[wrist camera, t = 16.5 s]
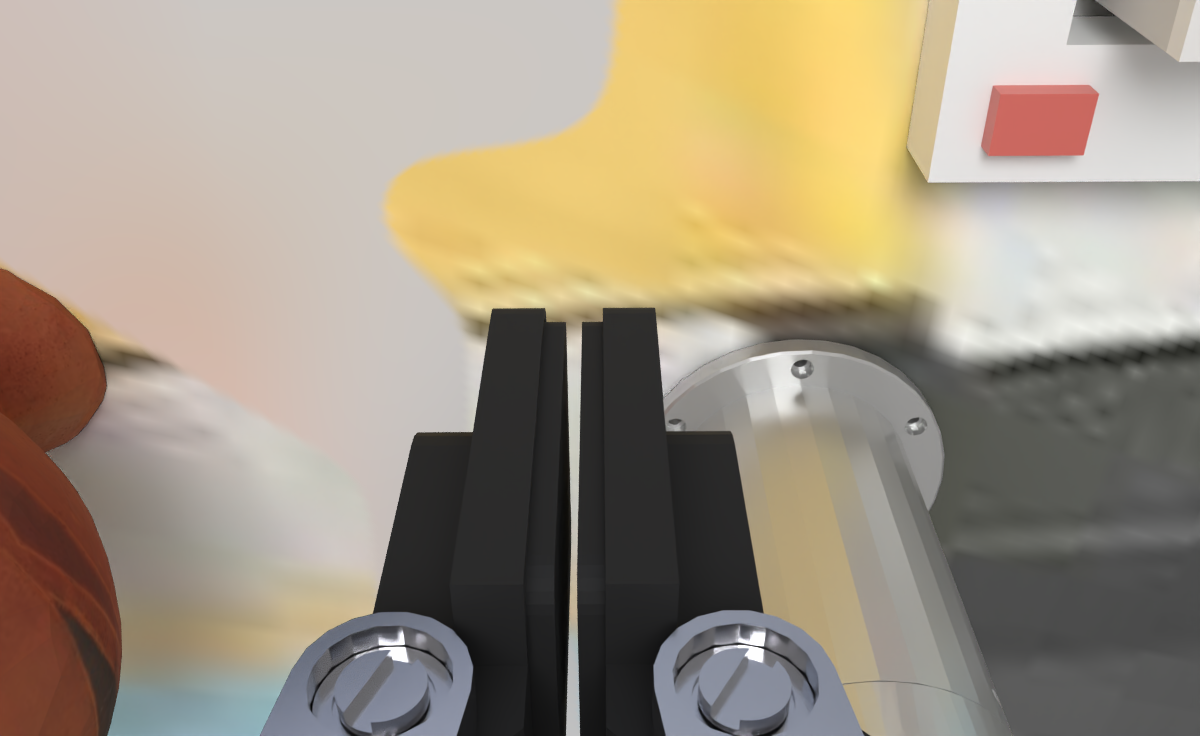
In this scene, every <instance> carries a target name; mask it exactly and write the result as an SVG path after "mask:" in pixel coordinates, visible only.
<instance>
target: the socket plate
mask: <svg viewBox="0 0 1200 736" xmlns="http://www.w3.org/2000/svg"><path fill="white" fill-rule="evenodd" d="M1076 1H1077V0H930V1H929V7H928V14H927V20H926V26H925V33H924V39H923V45H922V52H921V58H920V64H919V71H918V77H917V84H916V90H915V96H914V103H913V109H912V115H911V122H910V128H909V134H908V141H907V149H908V150H909V152H910V154H911V155H912V157H913V159H914V160H915V162H916V164H917V165H918V167H919V169H920V170H921V172H922V174H923V175H924V177H925V179H926V180H927V182H928V183H932V182H1130V181H1200V62H1178V61H1177V60H1176V59H1174V58H1173V57H1171V56H1170V55H1169V54H1167V53H1166V52H1165V51H1163V50H1162V49H1161V48H1159V47H1158V46H1156V45H1155V44H1154V43H1152V42H1151V41H1150V40H1148V39H1147V38H1146V37H1144V36H1143V35H1142V34H1140V33H1139V32H1137V31H1136V30H1135V29H1133V28H1132V27H1131V26H1129V25H1128V24H1127V23H1125V22H1124V21H1122V20H1121V19H1120V18H1118V17H1117V16H1073V14H1074V10H1075V5H1076Z"/></svg>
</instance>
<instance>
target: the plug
mask: <svg viewBox="0 0 1200 736" xmlns="http://www.w3.org/2000/svg"><path fill="white" fill-rule="evenodd" d="M1095 1H1097V2H1098V3H1099V4H1101V5H1102V6H1103V7H1105V8H1106V9H1107V10H1109V11H1110V12H1112V13H1113V14H1114V15H1116V16H1117V17H1118V18H1120V19H1121V20H1122V21H1124V22H1125V23H1127V24H1128V25H1129V26H1131V27H1132V28H1133V29H1135V30H1136V31H1137V32H1139V33H1140V34H1142V35H1143V36H1144V37H1146V38H1147V39H1148V40H1150V41H1151V42H1152V43H1154V44H1155V45H1156V46H1158V47H1159V48H1161V49H1162V50H1163V51H1165V52H1166V53H1167V54H1169V55H1170V56H1171V57H1173V58H1174V59H1176V60H1177V61H1178V62H1200V0H1095Z"/></svg>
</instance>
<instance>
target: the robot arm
mask: <svg viewBox="0 0 1200 736" xmlns="http://www.w3.org/2000/svg"><path fill="white" fill-rule="evenodd" d="M799 360H800V361H799ZM944 457H945V455H944V449H943V443H942V436H941V432H940V429H939V427H938V424H937V422H936V419H935V417H934V414H933V412H932V410H931V408H930V406H929V405H928V403H927V401H926V400H925V398H924V396H923V395H922V393H921V391H920V390H919V389H918V388H917V387H916V386H915V384H914V383H913V382H912V381H911V380H910V379H909V378H908V377H907V376H906V375H905V374H904V373H903V372H902V371H900V370H899V369H897V368H896V367H894V366H893V365H891V364H890V363H888V362H886V361H885V360H883V359H882V358H880V357H878V356H876V355H873V354H871V353H868V352H866V351H863V350H861V349H858V348H856V347H854V346H849V345H844V344H839V343H834V342H830V341H825V340H800V339H791V340H783V341H775V342H767V343H761V344H757V345H754V346H750V347H747V348H744V349H740V350H737V351H733V352H731V353H729V354H726V355H724V356H722V357H720V358H718V359H716V360H714V361H712V362H710V363H707V364H705V365H704V366H702V367H701V368H699V369H698V370H697V371H695V372H694V373H692V374H691V375H689V376H688V377H687V378H685V379H684V380H682V381H681V382H680V383H679V384H678V385H677V386H676V387H675V388H674V389H673V390H672V391H671V392H670V393H669V394H668V395H667V396H666V397H665V398H664V399H663V392H662V380H661V369H660V357H659V346H658V334H657V323H656V312H655V308H603V322H582V361H581V410H580V459H579V509H578V559H577V608H578V656H579V702H580V736H1013V735H1012V732H1011V729H1010V727H1009V724H1008V721H1007V719H1006V716H1005V714H1004V711H1003V708H1002V705H1001V703H1000V700H999V698H998V695H997V692H996V690H995V687H994V685H993V682H992V679H991V677H990V674H989V671H988V669H987V666H986V663H985V661H984V658H983V655H982V653H981V650H980V647H979V645H978V642H977V640H976V637H975V634H974V632H973V629H972V626H971V624H970V621H969V618H968V616H967V613H966V610H965V608H964V605H963V603H962V600H961V597H960V595H959V592H958V589H957V587H956V584H955V581H954V579H953V576H952V573H951V571H950V568H949V566H948V563H947V560H946V558H945V555H944V552H943V550H942V547H941V544H940V542H939V539H938V536H937V534H936V531H935V528H934V526H933V523H932V521H931V518H930V515H929V513H928V512H929V510H930V509H931V507H932V505H933V504H934V502H935V500H936V497H937V494H938V491H939V488H940V485H941V482H942V479H943V468H944ZM570 567H571V503H570V462H569V421H568V381H567V340H566V322H546V311H545V308H517V309H492V313H491V319H490V325H489V332H488V338H487V345H486V351H485V358H484V364H483V371H482V377H481V384H480V390H479V397H478V403H477V410H476V416H475V422H474V429H473V432H442V433H439V432H438V433H436V432H433V433H417V434H416V435H415V436H414V439H413V442H412V445H411V450H410V453H409V458H408V462H407V467H406V471H405V475H404V480H403V484H402V489H401V493H400V497H399V502H398V506H397V510H396V515H395V520H394V524H393V528H392V532H391V537H390V541H389V546H388V550H387V554H386V559H385V563H384V567H383V572H382V576H381V581H380V585H379V589H378V594H377V598H376V602H375V607H374V611H373V614H371V615H367V616H363V617H358V618H354V619H351V620H349V621H347V622H345V623H343V624H341V625H339V626H337V627H335V628H333V629H331V630H329V631H327V632H326V633H325V634H323V635H322V636H321V637H320V638H319V639H317V640H316V641H315V642H314V643H312V644H311V645H310V646H309V647H308V648H306V650H305V651H304V653H303V654H302V656H301V657H300V658H299V660H298V661H297V663H296V664H295V666H294V667H293V668H292V670H291V672H290V674H289V676H288V678H287V680H286V683H285V685H284V687H283V689H282V691H281V693H280V695H279V697H278V699H277V701H276V703H275V705H274V707H273V709H272V711H271V713H270V715H269V717H268V720H267V722H266V724H265V726H264V728H263V730H262V732H261V734H260V736H566V712H567V711H566V710H567V675H568V674H567V673H568V639H569V603H570Z"/></svg>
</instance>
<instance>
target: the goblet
mask: <svg viewBox="0 0 1200 736" xmlns="http://www.w3.org/2000/svg"><path fill="white" fill-rule="evenodd" d="M106 386H107V385H106V379H105V372H104V367H103V364H102V362H101V360H100V357H99V355H98V353H97V351H96V348H95V346H94V344H93V341H92V339H91V337H90V335H89V332H88V330H87V329H86V328H85V327H84V326H83V325H82V324H81V323H80V322H79V321H78V320H77V319H76V318H75V317H74V316H73V315H72V314H71V313H70V312H69V311H68V310H67V309H66V308H65V307H64V306H63V305H62V304H61V303H60V302H59V301H58V300H57V299H56V298H54V297H53V296H51V295H49V294H47V293H45V292H43V291H42V290H40V289H38V288H36V287H34V286H32V285H31V284H29V283H27V282H25V281H23V280H21V279H20V278H18V277H16V276H15V275H13V274H12V273H10V272H9V271H7V270H3V269H0V736H107V735H108V731H109V728H110V725H111V721H112V716H113V711H114V707H115V703H116V698H117V693H118V689H119V681H120V670H121V659H122V639H121V619H120V614H119V608H118V603H117V597H116V592H115V586H114V582H113V578H112V574H111V570H110V566H109V562H108V558H107V555H106V552H105V550H104V547H103V544H102V542H101V539H100V537H99V534H98V532H97V529H96V526H95V524H94V521H93V519H92V516H91V514H90V513H89V511H88V509H87V508H86V506H85V504H84V502H83V501H82V499H81V497H80V496H79V494H78V492H77V491H76V490H75V488H74V487H73V485H72V484H71V483H70V481H69V480H68V479H67V477H66V476H65V475H64V473H63V472H62V471H61V470H60V469H59V468H58V467H57V465H56V464H55V463H54V462H53V461H52V460H51V459H50V458H49V457H48V455H47V454H46V453H45V452H47V451H49V450H51V449H54V448H56V447H58V446H60V445H62V444H65V443H67V442H68V441H69V440H71V439H72V438H74V437H75V436H77V435H78V434H79V433H80V431H81V430H82V429H83V428H84V427H85V426H86V424H87V423H88V422H89V420H90V419H91V417H92V416H93V414H94V413H95V411H96V410H97V408H98V407H99V405H100V404H101V402H102V401H103V398H104V394H105V390H106Z"/></svg>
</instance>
